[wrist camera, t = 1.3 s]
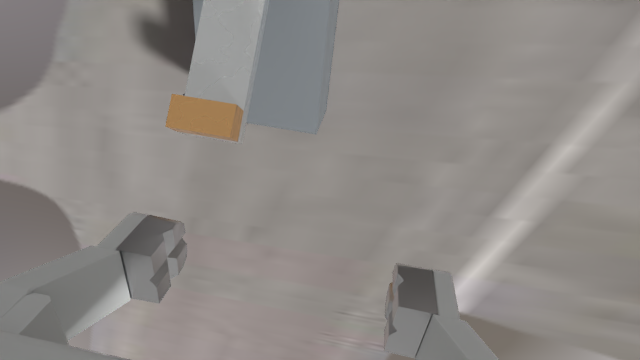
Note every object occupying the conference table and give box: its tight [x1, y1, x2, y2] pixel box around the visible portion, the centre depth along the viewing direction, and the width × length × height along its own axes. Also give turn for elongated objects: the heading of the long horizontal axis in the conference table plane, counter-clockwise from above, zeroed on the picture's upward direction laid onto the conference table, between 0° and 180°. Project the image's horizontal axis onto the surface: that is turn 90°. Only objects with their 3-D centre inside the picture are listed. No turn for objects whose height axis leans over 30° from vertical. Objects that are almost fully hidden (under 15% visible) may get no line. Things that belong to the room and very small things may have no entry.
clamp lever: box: [165, 0, 270, 144], centre depth 24 cm, size 4×17×3 cm
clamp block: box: [183, 0, 339, 134], centre depth 31 cm, size 11×20×9 cm, turn 174°
